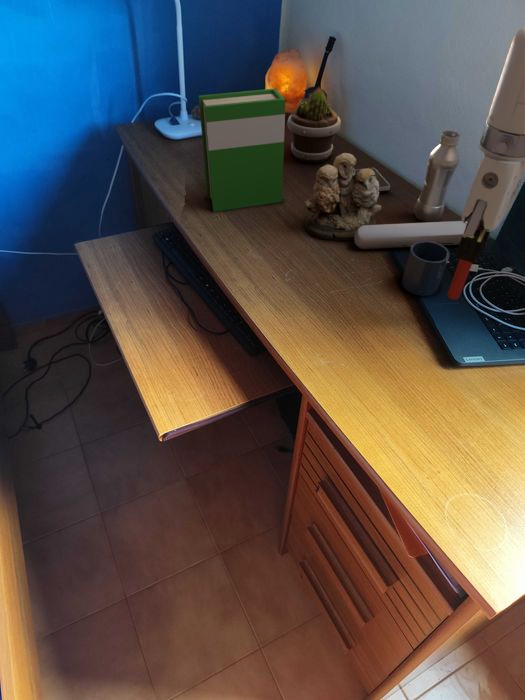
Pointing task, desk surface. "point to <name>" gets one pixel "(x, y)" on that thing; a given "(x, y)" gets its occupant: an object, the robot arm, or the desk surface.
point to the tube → (408, 234)
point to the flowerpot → (313, 128)
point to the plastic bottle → (438, 178)
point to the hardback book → (243, 147)
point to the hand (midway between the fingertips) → (468, 254)
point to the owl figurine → (342, 200)
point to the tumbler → (425, 267)
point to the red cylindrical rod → (459, 278)
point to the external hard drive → (383, 183)
